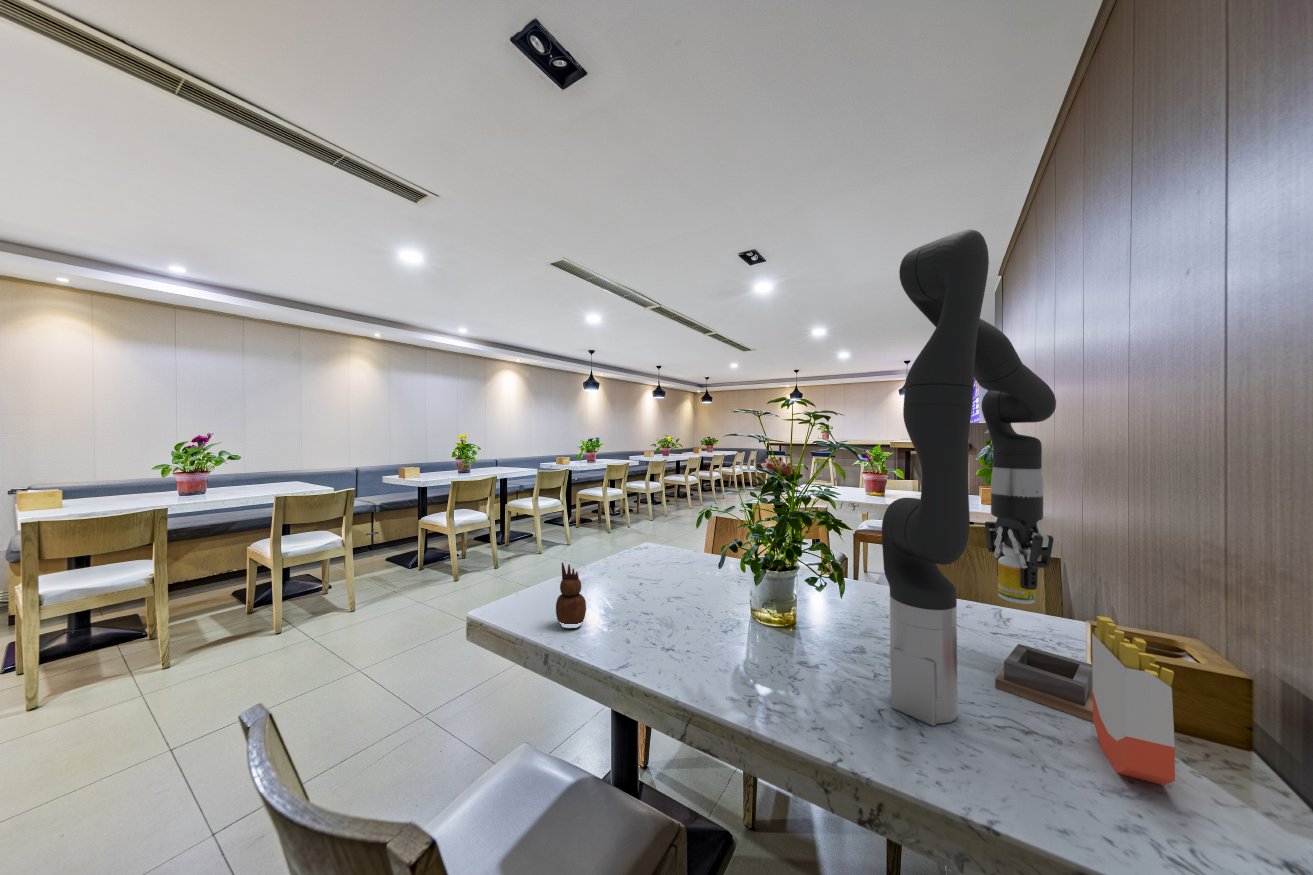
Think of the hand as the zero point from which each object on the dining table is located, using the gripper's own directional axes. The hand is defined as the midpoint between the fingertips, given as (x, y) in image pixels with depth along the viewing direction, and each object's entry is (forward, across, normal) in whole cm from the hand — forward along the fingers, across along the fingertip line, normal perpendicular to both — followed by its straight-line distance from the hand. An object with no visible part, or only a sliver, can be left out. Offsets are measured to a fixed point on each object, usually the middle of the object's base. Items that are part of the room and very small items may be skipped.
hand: (1015, 582), depth 81 cm
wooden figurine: (+18, +14, +88) cm, 91 cm away
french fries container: (+16, -24, +2) cm, 29 cm away
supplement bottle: (+3, 0, 0) cm, 3 cm away
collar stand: (+16, -7, -1) cm, 17 cm away
